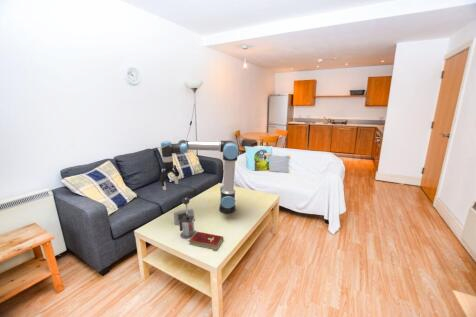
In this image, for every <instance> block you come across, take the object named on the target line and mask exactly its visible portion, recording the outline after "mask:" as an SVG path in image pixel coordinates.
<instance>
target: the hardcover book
mask: <svg viewBox="0 0 476 317" xmlns="http://www.w3.org/2000/svg"><path fill="white" fill-rule="evenodd" d="M223 241H224V236H223V235H222V236H221V235H218V234H212V233H206V232H201V231H196V233H195V234H194V235H193V236H192V237H191V239H188V242H189V245H193V246H197V247H202V248H207V249H212V251H217V250H218V249H219V247H220V246H221V244H222V242H223Z"/></svg>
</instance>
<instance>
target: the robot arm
mask: <svg viewBox="0 0 476 317" xmlns="http://www.w3.org/2000/svg"><path fill="white" fill-rule="evenodd" d="M160 149H161V150H160V151H161V157H162V165H163V168H161V169H160V176H159V179H158V182H159V183H160V184H161V187H162V190H163V191H166V190H167V187H166V181H165V180H166V179H167V176H168V175H169V174H170V173H172V174H173V175H174V184H175V185H179V176H180V171H179V169H178V167H177V165H176V164H174V160H173V159H174V158H173V154H186V153H188V151H212V152H213V151H216V152H217V151H218V152H220V153H222V160H223V161H224V167H223V169H224V170H223V182H222V183H223V184H222V185H221V186H220V187H219V188H220V189H219V190H220V203H219V207H218V210H219V212H221V214H231V213H234V212H236V210H237V209H236V208H237V207H236V190H235V189H234V187H235V174H236V173H235V171H236V162H237V161H238V157H239V156H238V155H239V147H238V146H237V142H235V141H233V140H219V141H204V140H203V141H202V140H185V139H180V140H179V141H178V142H177V143H172V142H171V141H169V140H165V141H161V142H160Z"/></svg>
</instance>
